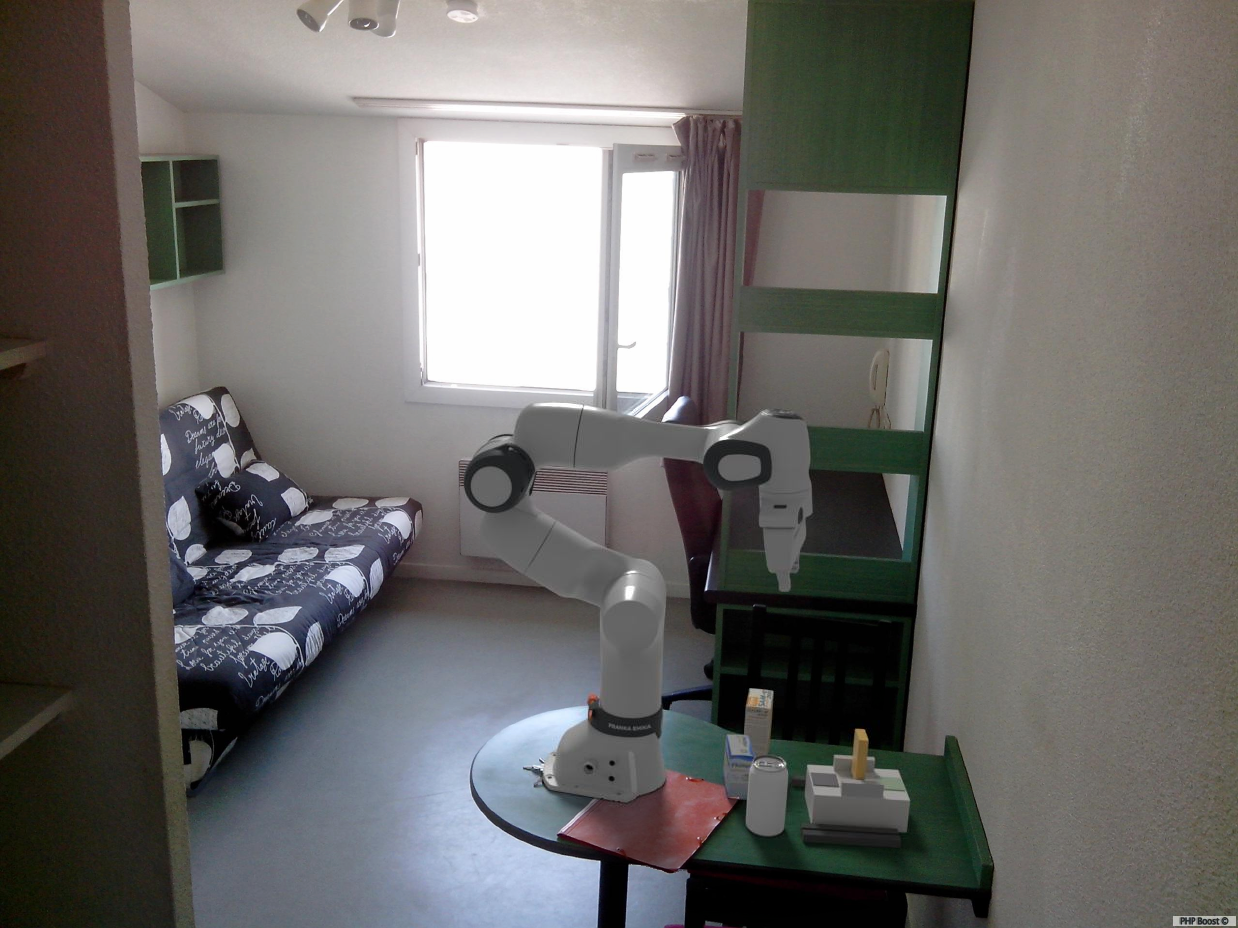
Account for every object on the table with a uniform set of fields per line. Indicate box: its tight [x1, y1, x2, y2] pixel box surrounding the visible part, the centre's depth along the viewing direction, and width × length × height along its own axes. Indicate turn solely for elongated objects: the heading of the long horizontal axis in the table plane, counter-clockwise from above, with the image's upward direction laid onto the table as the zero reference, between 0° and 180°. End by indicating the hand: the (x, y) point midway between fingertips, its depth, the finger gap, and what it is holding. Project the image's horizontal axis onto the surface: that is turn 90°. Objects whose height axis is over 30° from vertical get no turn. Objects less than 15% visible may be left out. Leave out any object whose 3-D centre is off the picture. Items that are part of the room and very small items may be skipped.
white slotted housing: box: [804, 754, 911, 833], centre depth 182 cm, size 16×10×8 cm, turn 87°
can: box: [745, 754, 789, 838], centre depth 177 cm, size 6×6×12 cm
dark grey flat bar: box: [800, 822, 902, 849], centre depth 175 cm, size 16×3×1 cm, turn 87°
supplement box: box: [743, 688, 774, 757], centre depth 198 cm, size 8×5×13 cm, turn 168°
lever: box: [851, 728, 869, 780], centre depth 181 cm, size 2×6×9 cm, turn 177°
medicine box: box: [722, 734, 755, 801], centre depth 189 cm, size 8×4×9 cm, turn 1°
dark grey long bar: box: [790, 774, 806, 788], centre depth 191 cm, size 16×1×1 cm, turn 87°
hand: (789, 580), depth 182 cm, fingers open, 8 cm apart
